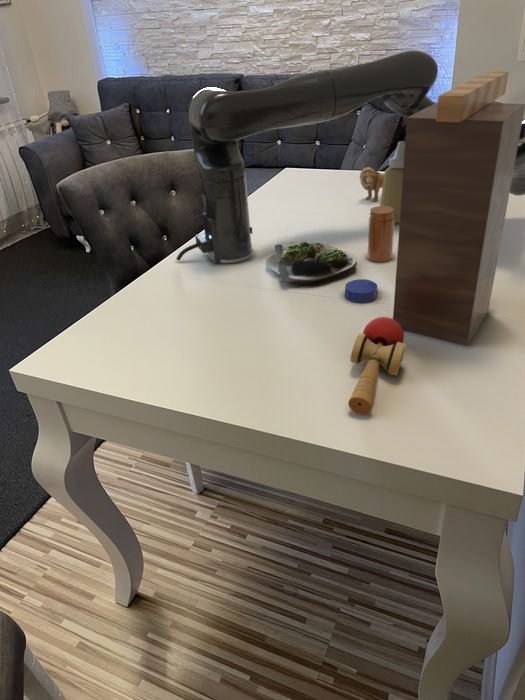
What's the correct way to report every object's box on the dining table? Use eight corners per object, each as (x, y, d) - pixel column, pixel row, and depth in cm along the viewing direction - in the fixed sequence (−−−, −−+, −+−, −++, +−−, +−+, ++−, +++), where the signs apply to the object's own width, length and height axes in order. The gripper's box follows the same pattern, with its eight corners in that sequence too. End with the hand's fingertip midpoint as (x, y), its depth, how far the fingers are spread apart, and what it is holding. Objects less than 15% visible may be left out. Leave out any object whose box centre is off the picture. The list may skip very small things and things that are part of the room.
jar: (375, 263, 109) (377, 215, 103) (362, 255, 113) (364, 208, 107) (396, 258, 110) (400, 210, 104) (383, 250, 114) (386, 204, 108)
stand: (467, 345, 81) (503, 120, 64) (392, 327, 87) (406, 117, 70) (488, 311, 89) (525, 103, 72) (418, 297, 95) (437, 102, 78)
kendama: (395, 427, 69) (416, 340, 81) (387, 391, 65) (410, 306, 78) (337, 423, 72) (366, 340, 85) (327, 389, 69) (358, 308, 81)
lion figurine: (366, 206, 139) (367, 170, 134) (354, 201, 143) (355, 166, 138) (410, 194, 144) (413, 160, 139) (397, 190, 148) (399, 156, 143)
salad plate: (244, 262, 114) (242, 241, 111) (313, 241, 121) (313, 222, 118) (292, 295, 99) (291, 272, 97) (368, 270, 106) (369, 248, 104)
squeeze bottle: (416, 224, 125) (423, 144, 115) (381, 227, 126) (386, 147, 116) (409, 213, 132) (415, 136, 122) (376, 215, 132) (379, 139, 123)
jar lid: (355, 285, 101) (355, 276, 100) (382, 293, 98) (383, 283, 97) (339, 297, 97) (339, 288, 96) (366, 305, 94) (367, 296, 93)
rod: (460, 122, 65) (463, 95, 63) (435, 121, 66) (438, 95, 65) (505, 94, 80) (508, 71, 78) (484, 93, 81) (487, 71, 80)
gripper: (551, 170, 97) (543, 142, 84) (471, 163, 105) (452, 137, 91) (563, 127, 96) (557, 92, 83) (482, 124, 104) (464, 91, 90)
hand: (502, 116), depth 87 cm, fingers open, 8 cm apart
